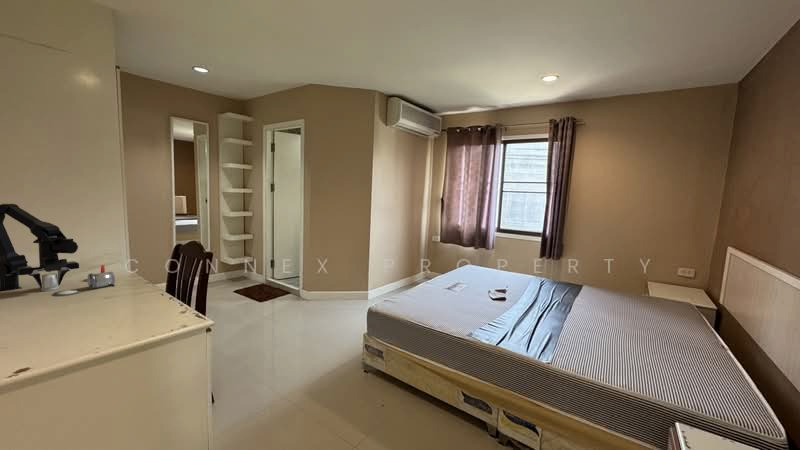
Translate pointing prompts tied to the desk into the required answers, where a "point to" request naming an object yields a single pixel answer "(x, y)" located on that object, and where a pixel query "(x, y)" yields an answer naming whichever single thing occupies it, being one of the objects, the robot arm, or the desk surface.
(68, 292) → the flange
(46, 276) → the white knob
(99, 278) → the grey rounded block
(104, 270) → the bracket
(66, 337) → the desk surface
